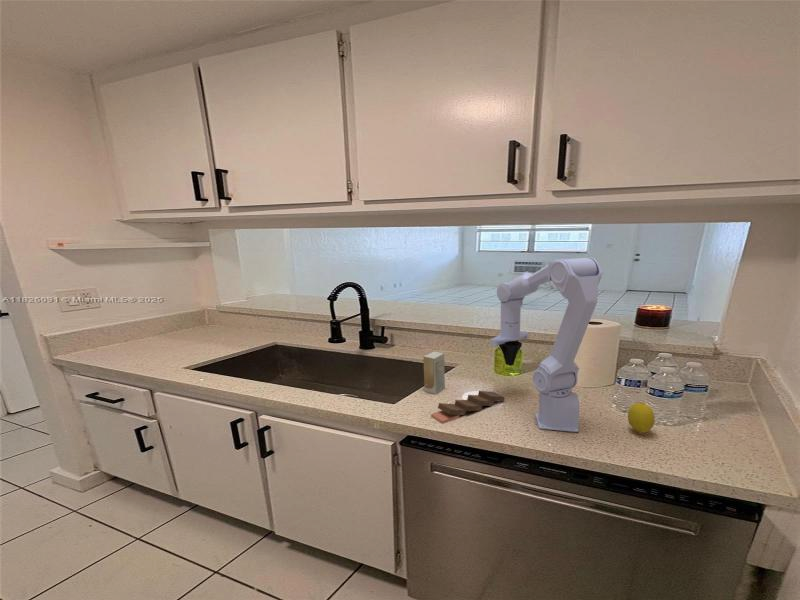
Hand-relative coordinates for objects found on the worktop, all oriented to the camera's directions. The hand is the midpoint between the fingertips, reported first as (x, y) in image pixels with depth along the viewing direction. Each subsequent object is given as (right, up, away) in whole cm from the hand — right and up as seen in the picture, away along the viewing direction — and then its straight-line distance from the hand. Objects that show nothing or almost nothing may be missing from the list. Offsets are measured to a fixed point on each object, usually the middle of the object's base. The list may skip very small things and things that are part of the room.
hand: (509, 364), depth 113 cm
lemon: (+26, -13, -22) cm, 36 cm away
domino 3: (-12, -11, -6) cm, 17 cm away
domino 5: (-4, -10, 0) cm, 10 cm away
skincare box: (-23, -10, +7) cm, 26 cm away
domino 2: (-19, -12, -9) cm, 24 cm away
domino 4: (-7, -10, -3) cm, 13 cm away
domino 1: (-17, -11, -8) cm, 22 cm away
